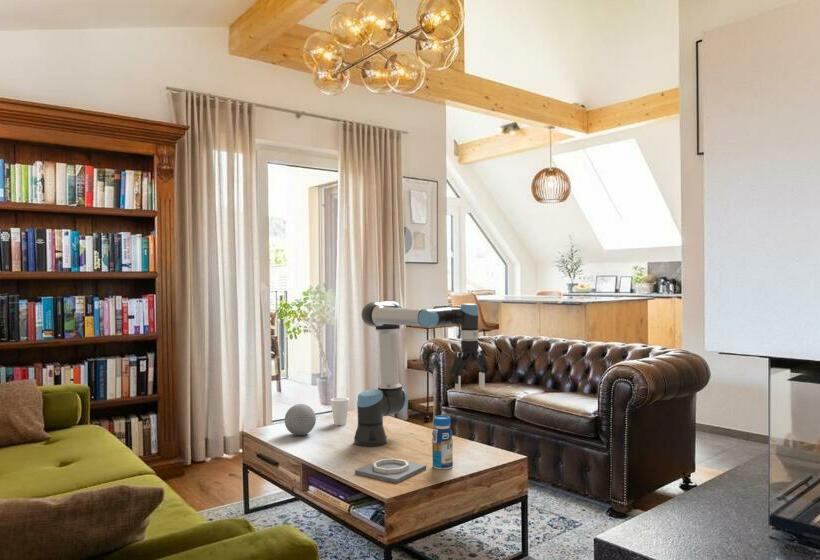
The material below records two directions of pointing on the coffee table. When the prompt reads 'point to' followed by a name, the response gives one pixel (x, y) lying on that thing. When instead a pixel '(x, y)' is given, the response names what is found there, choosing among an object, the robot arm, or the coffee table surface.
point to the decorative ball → (300, 419)
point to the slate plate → (393, 475)
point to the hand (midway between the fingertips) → (470, 389)
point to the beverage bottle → (442, 443)
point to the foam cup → (340, 410)
